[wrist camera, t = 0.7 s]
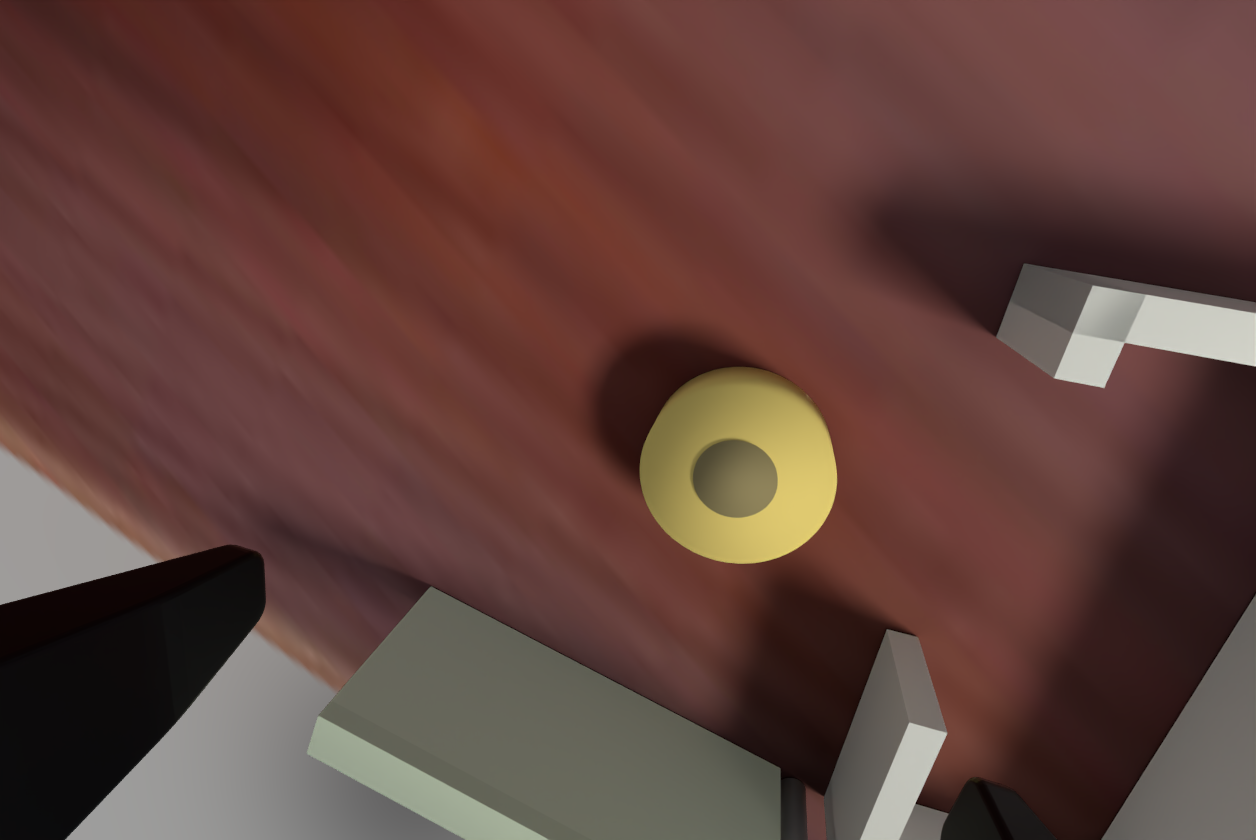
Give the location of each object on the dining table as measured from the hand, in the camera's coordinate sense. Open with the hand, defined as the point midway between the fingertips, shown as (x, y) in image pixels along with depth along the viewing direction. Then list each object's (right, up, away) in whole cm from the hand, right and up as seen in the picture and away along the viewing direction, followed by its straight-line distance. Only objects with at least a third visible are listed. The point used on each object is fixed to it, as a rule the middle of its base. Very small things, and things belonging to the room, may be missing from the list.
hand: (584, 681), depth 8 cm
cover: (-1, -7, +17) cm, 19 cm away
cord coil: (+4, +2, +12) cm, 13 cm away
